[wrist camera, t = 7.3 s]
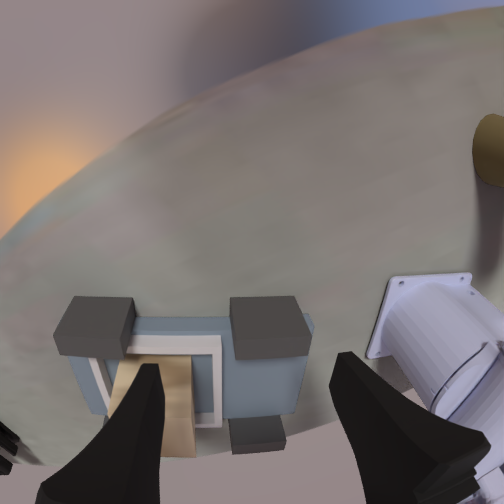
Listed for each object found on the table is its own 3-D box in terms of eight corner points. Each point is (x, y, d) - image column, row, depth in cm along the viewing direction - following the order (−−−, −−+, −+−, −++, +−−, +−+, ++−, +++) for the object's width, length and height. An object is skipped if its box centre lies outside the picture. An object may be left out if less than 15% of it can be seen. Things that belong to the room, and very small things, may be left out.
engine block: (191, 355, 21) (191, 418, 16) (194, 399, 23) (196, 457, 18) (121, 353, 20) (107, 413, 15) (133, 397, 22) (125, 454, 18)
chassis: (311, 295, 22) (332, 333, 18) (288, 411, 28) (298, 447, 24) (58, 295, 20) (35, 333, 16) (99, 411, 25) (91, 448, 21)
